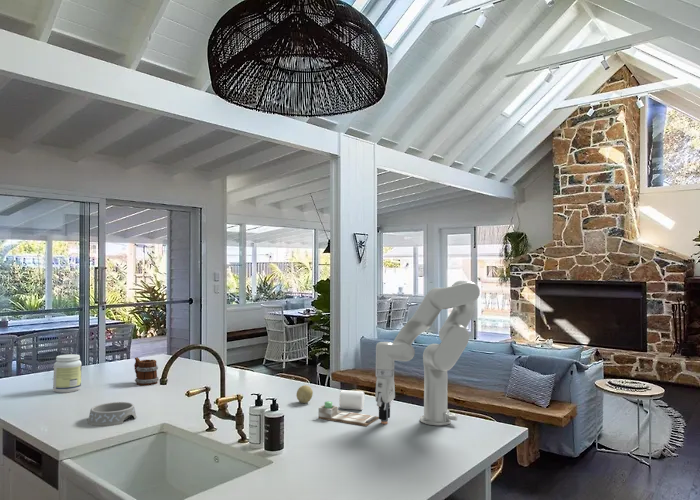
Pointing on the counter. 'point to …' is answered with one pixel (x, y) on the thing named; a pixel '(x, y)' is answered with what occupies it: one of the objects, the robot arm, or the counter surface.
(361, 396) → the mug
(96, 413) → the dog bowl
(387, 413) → the cylinder
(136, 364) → the mug
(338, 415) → the cream tray
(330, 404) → the button
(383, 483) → the counter surface
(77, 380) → the supplement tub
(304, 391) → the potato
